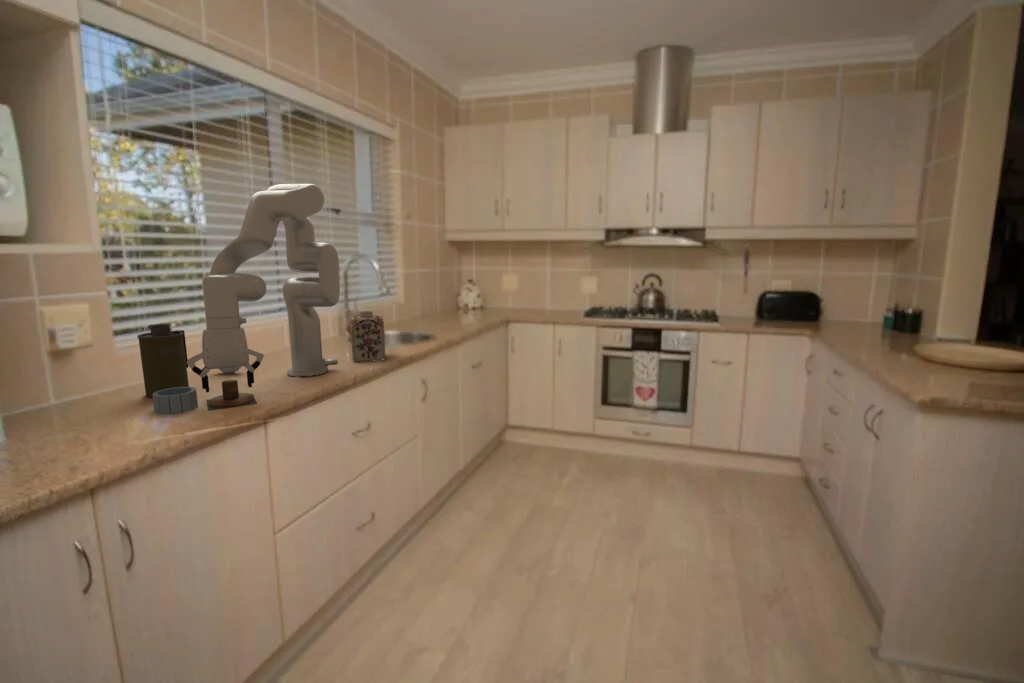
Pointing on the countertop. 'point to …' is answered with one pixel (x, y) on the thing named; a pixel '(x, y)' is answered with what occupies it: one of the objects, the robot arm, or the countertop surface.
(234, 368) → the donut
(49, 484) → the countertop surface
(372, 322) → the decorative jar
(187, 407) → the grey short cylinder
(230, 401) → the lid
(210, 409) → the mat
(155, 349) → the canister
